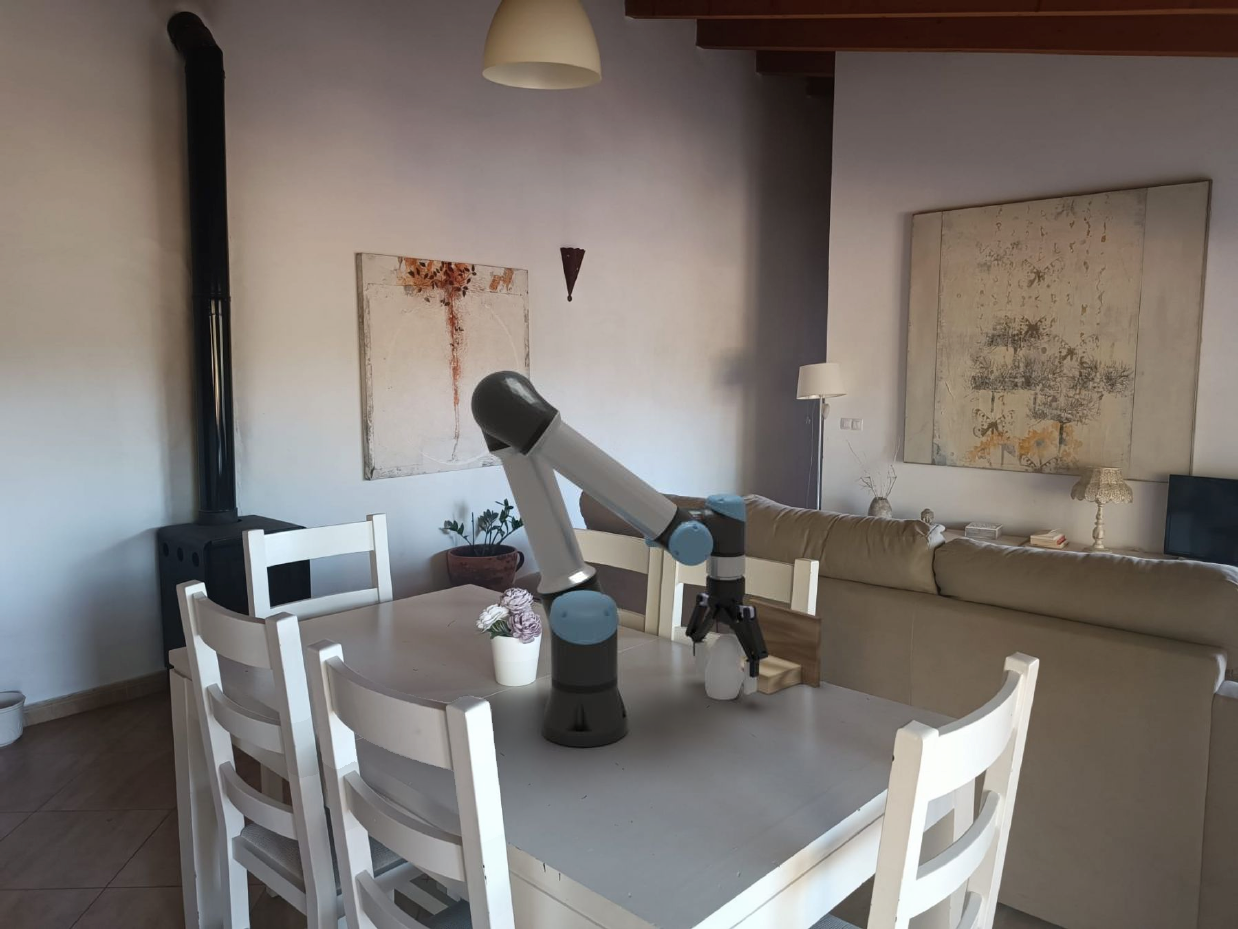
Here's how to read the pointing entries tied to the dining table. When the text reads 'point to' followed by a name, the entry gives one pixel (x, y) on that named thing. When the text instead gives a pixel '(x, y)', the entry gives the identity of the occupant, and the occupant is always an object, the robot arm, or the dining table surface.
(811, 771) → the dining table surface
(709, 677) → the figurine
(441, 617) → the dining table surface
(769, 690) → the wall board
